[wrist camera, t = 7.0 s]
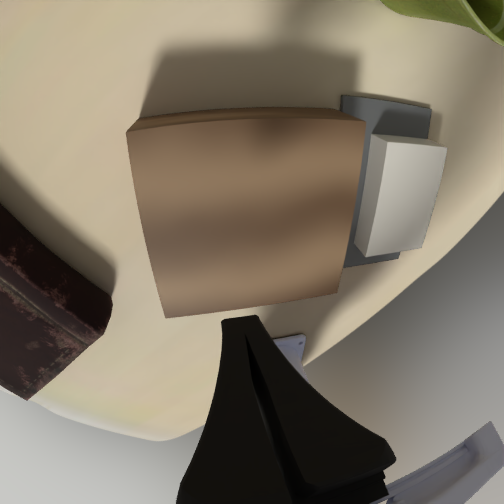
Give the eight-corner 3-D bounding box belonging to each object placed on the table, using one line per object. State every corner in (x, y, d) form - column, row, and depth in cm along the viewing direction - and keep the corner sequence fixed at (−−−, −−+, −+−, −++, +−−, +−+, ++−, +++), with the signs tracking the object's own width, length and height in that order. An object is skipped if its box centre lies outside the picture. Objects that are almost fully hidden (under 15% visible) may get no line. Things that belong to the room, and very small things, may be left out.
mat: (396, 256, 26) (398, 258, 26) (321, 268, 25) (322, 271, 24) (429, 108, 18) (431, 109, 18) (341, 94, 17) (343, 95, 16)
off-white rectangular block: (365, 257, 22) (353, 242, 23) (421, 247, 23) (408, 235, 24) (387, 141, 17) (371, 133, 18) (447, 147, 18) (430, 139, 19)
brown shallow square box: (317, 260, 24) (336, 292, 21) (166, 279, 22) (165, 318, 19) (333, 109, 17) (366, 121, 14) (138, 118, 15) (125, 132, 12)
